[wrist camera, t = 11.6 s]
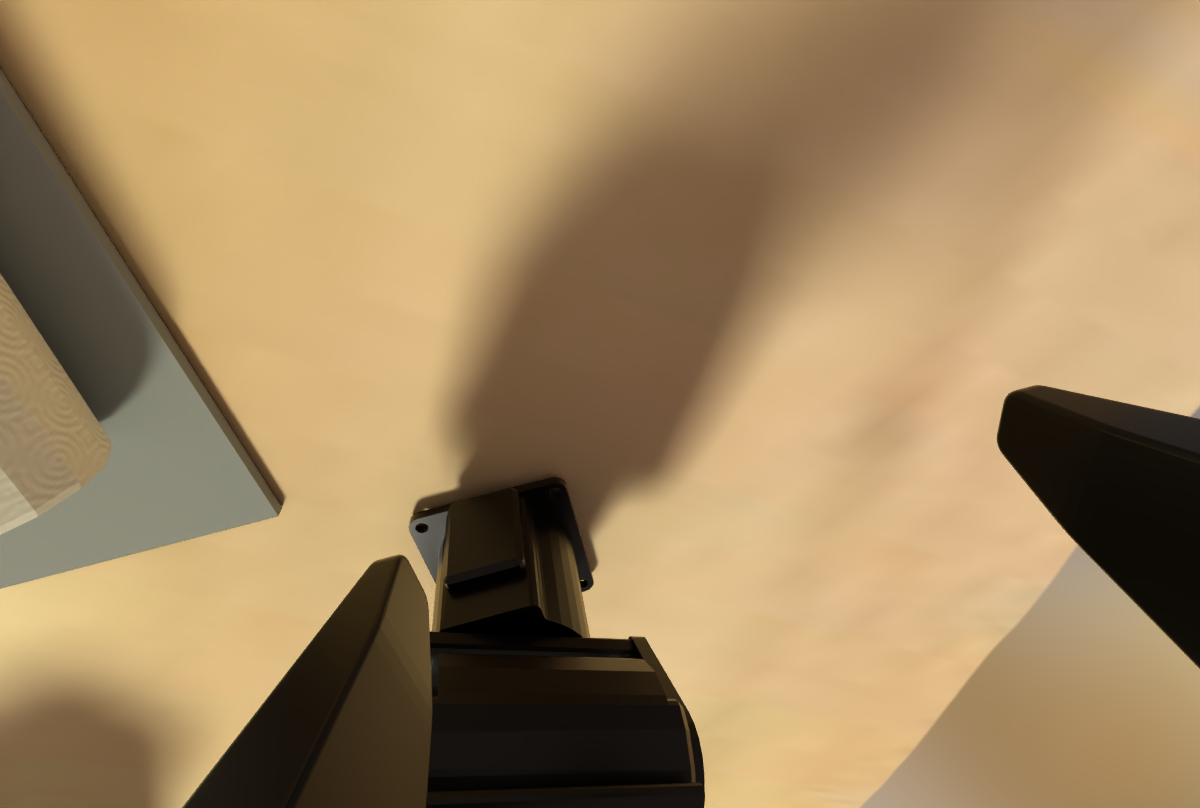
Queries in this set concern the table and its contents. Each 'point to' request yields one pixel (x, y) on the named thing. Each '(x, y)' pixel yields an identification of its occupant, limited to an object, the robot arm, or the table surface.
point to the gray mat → (110, 380)
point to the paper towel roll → (40, 423)
